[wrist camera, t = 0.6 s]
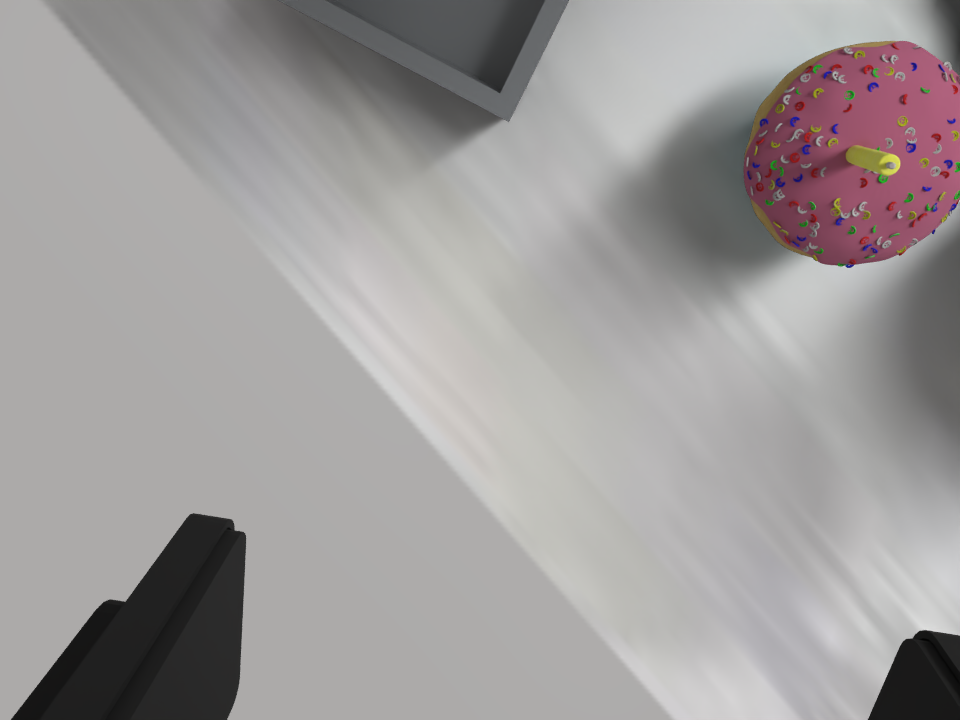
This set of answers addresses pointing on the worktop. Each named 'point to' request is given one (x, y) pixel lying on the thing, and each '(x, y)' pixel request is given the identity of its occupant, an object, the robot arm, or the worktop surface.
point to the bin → (451, 40)
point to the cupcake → (857, 153)
